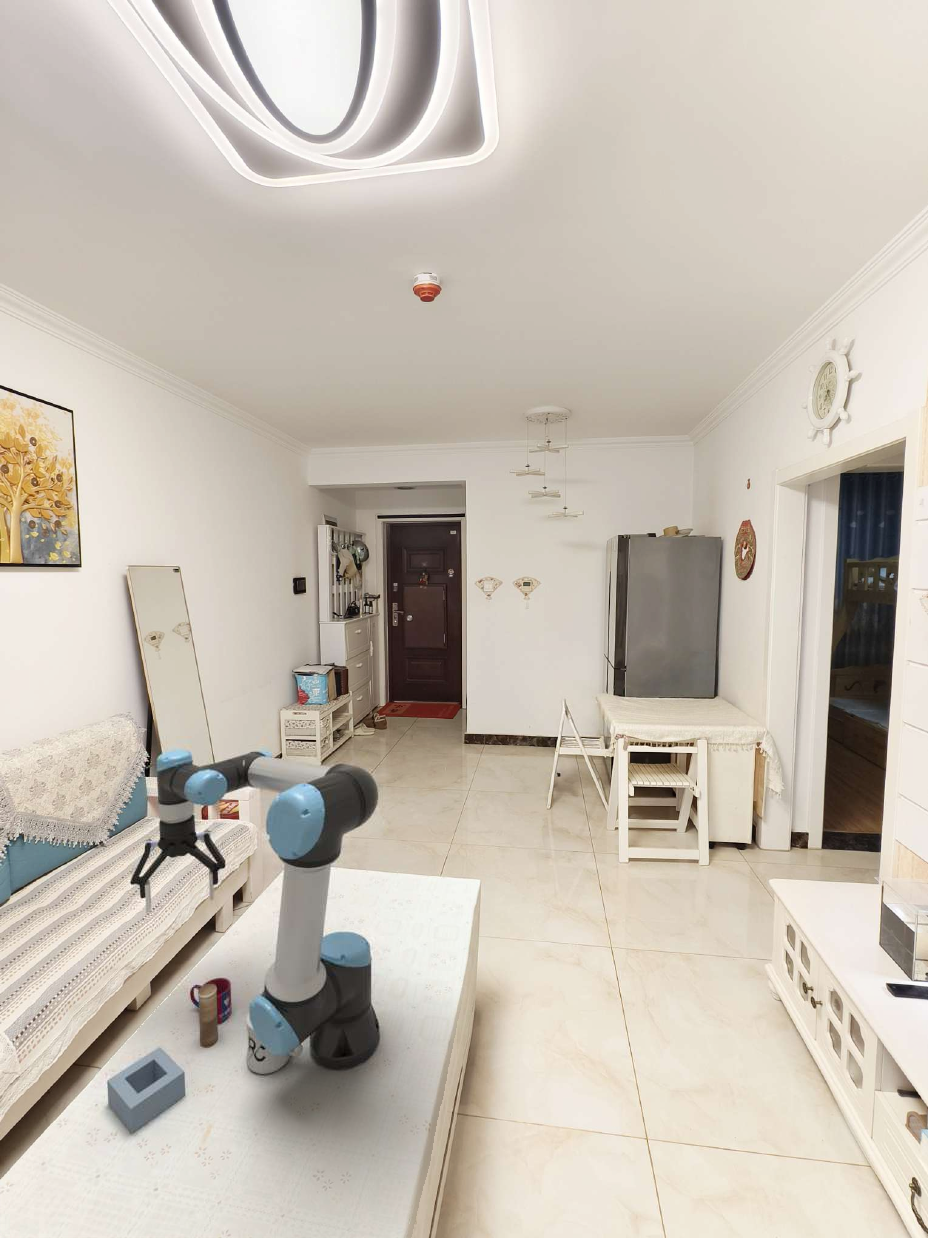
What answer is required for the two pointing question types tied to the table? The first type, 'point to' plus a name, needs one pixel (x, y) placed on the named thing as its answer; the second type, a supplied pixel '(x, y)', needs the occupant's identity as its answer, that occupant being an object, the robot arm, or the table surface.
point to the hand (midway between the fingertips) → (180, 903)
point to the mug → (264, 1054)
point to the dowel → (208, 1015)
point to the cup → (218, 998)
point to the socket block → (146, 1089)
